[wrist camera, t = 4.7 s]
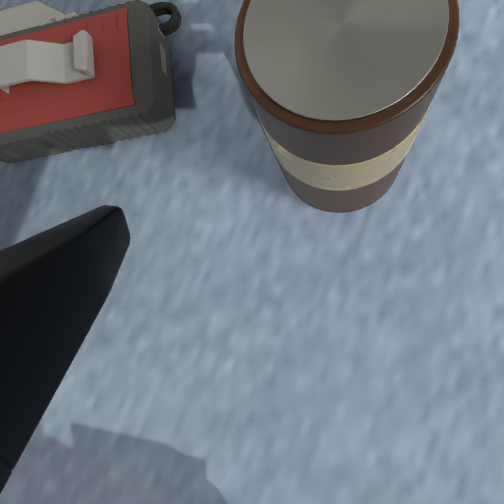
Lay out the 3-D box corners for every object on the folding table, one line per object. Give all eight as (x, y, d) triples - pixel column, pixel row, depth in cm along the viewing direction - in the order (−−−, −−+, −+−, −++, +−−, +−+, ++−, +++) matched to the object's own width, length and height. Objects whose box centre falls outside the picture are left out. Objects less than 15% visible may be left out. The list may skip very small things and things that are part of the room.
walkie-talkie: (184, -11, 24) (-94, 63, 28) (152, -77, 20) (-172, 20, 24) (198, 131, 23) (-95, 188, 27) (166, 93, 19) (-176, 167, 23)
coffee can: (396, 91, 21) (450, -104, 11) (407, 208, 21) (475, 116, 10) (279, 107, 23) (227, -55, 12) (284, 218, 22) (235, 145, 11)
